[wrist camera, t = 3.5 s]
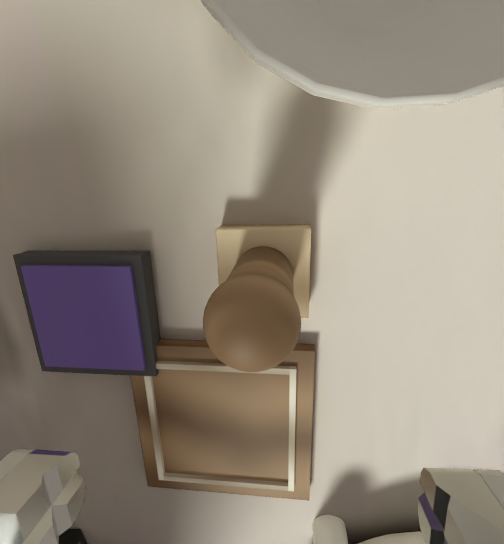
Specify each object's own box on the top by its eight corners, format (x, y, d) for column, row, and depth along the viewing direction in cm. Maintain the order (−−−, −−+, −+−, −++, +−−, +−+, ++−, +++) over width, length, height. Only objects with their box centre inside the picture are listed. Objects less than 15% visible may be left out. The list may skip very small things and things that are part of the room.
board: (131, 338, 21) (123, 346, 20) (313, 344, 20) (315, 354, 19) (152, 476, 24) (146, 490, 23) (308, 489, 23) (309, 504, 22)
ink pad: (28, 250, 20) (8, 256, 18) (149, 250, 19) (138, 256, 18) (54, 361, 22) (38, 373, 21) (163, 365, 21) (154, 379, 20)
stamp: (221, 225, 18) (161, 270, 10) (309, 224, 18) (330, 271, 9) (225, 305, 20) (176, 407, 11) (306, 307, 19) (323, 416, 10)
